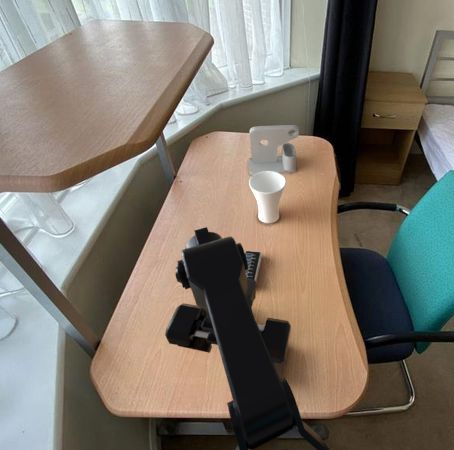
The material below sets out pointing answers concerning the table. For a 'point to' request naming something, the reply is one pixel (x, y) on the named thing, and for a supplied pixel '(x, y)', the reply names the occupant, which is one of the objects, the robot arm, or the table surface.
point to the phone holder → (272, 149)
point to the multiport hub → (253, 264)
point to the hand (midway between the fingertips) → (235, 354)
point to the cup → (268, 194)
